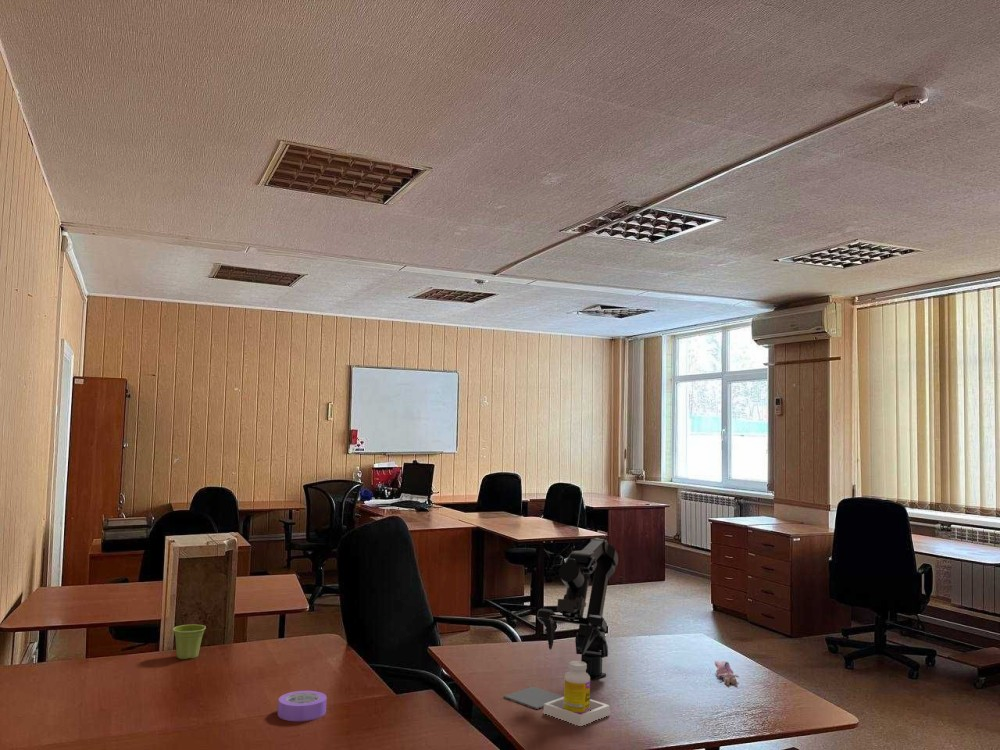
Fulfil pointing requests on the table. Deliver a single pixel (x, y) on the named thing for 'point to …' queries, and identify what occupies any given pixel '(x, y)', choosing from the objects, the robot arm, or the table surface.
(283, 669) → the table surface
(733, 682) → the pink plastic figurine
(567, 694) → the supplement bottle
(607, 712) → the holder
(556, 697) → the mat
